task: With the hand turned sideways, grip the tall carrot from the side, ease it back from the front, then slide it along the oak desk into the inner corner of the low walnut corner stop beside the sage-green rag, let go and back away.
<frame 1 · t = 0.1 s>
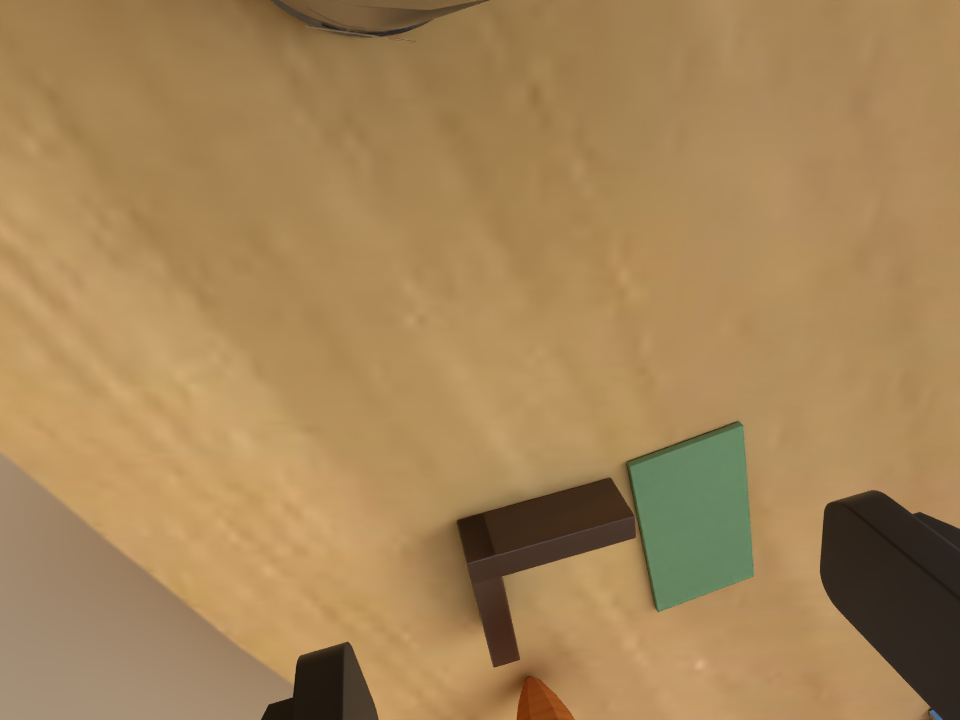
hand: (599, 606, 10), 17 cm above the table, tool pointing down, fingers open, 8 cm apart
corner stop: (547, 557, 34), on the table
carrot: (528, 674, 38), on the table
rag: (693, 521, 35), on the table
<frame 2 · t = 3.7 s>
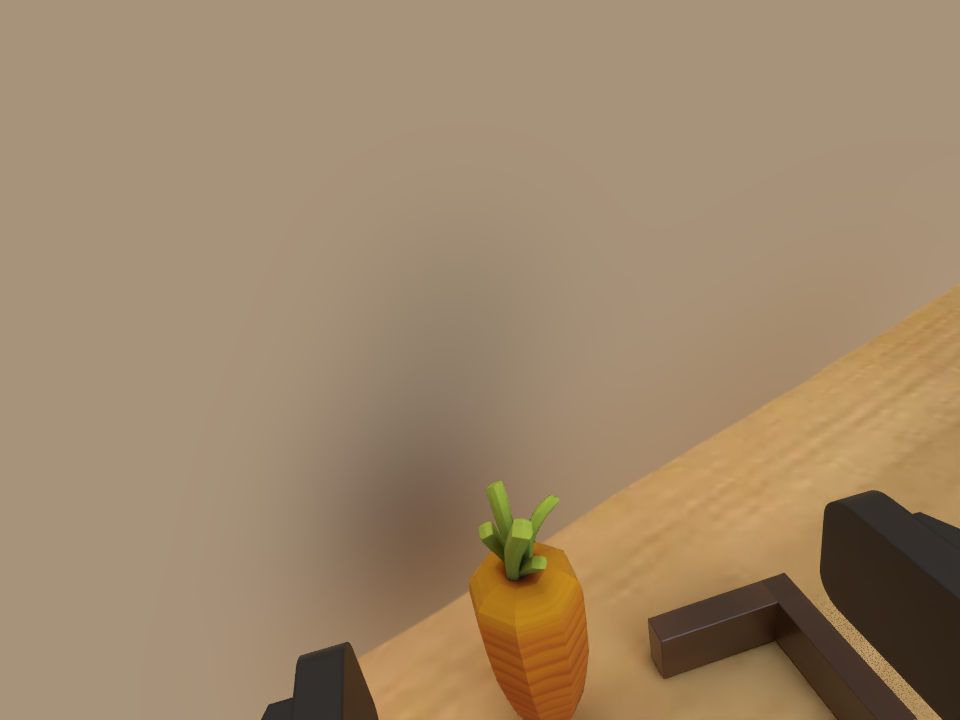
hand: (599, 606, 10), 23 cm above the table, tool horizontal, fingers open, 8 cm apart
corner stop: (760, 708, 30), on the table
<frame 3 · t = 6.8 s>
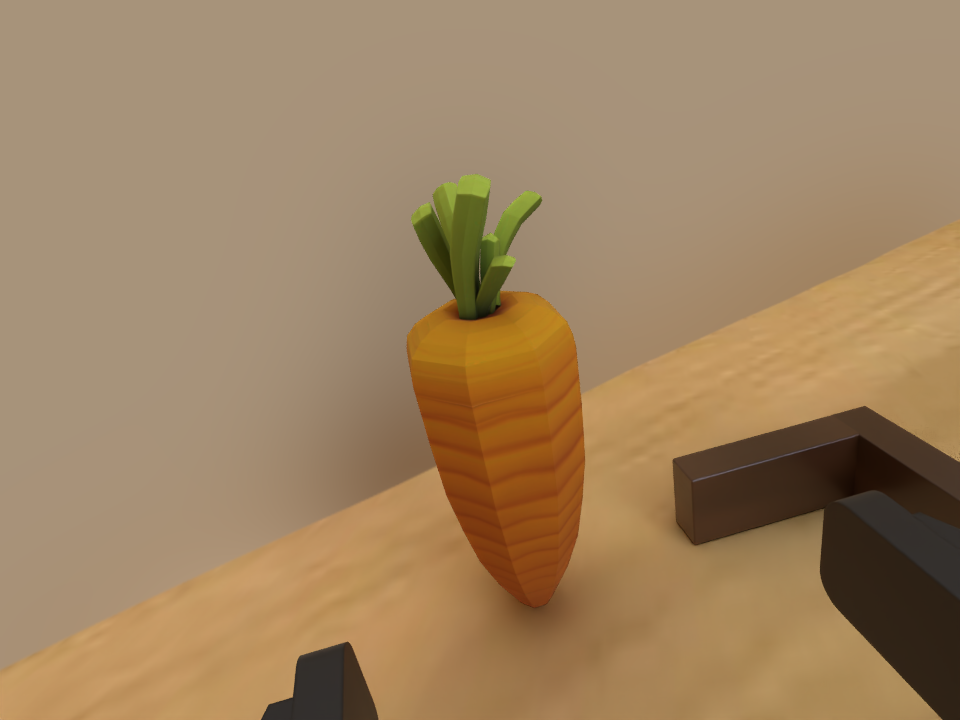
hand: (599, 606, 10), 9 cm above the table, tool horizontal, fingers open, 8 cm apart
corner stop: (838, 574, 20), on the table
carrot: (538, 607, 22), on the table
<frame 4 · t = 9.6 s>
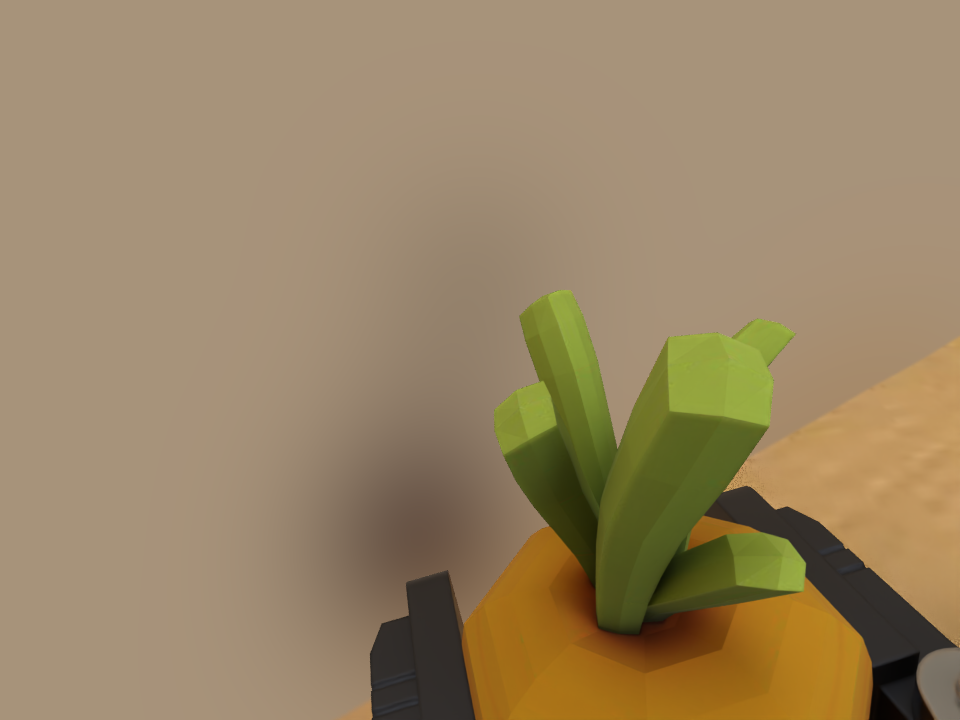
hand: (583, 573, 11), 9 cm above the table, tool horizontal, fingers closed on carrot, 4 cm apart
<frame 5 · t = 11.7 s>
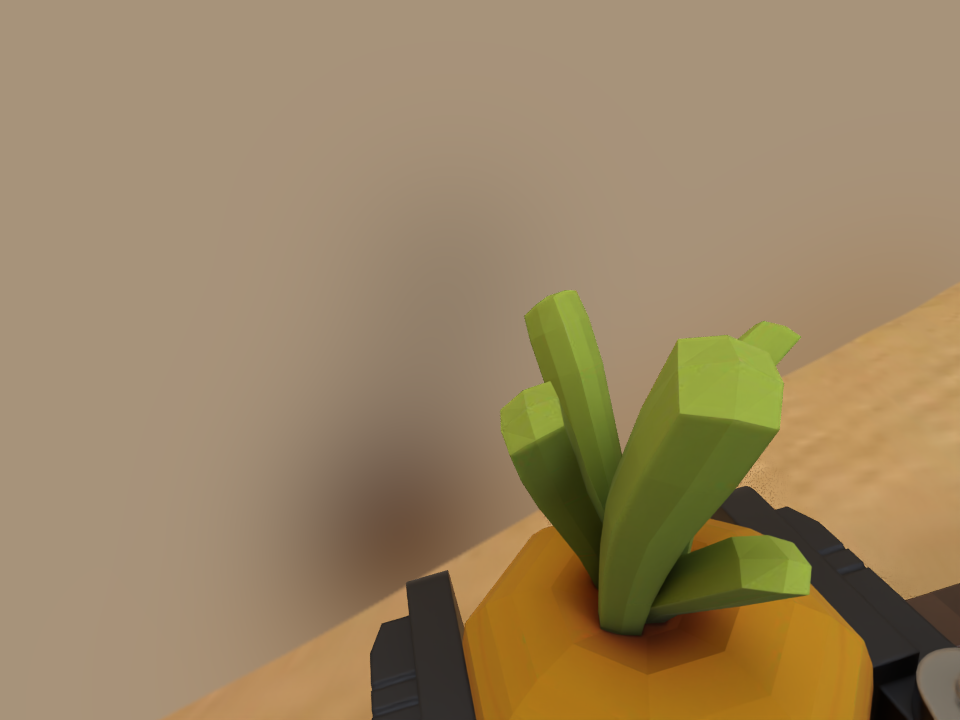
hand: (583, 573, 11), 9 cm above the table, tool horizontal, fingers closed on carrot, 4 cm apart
when the fingers open (9 cm above the table, at t = 13.9 s): carrot stays where it is, on the table.
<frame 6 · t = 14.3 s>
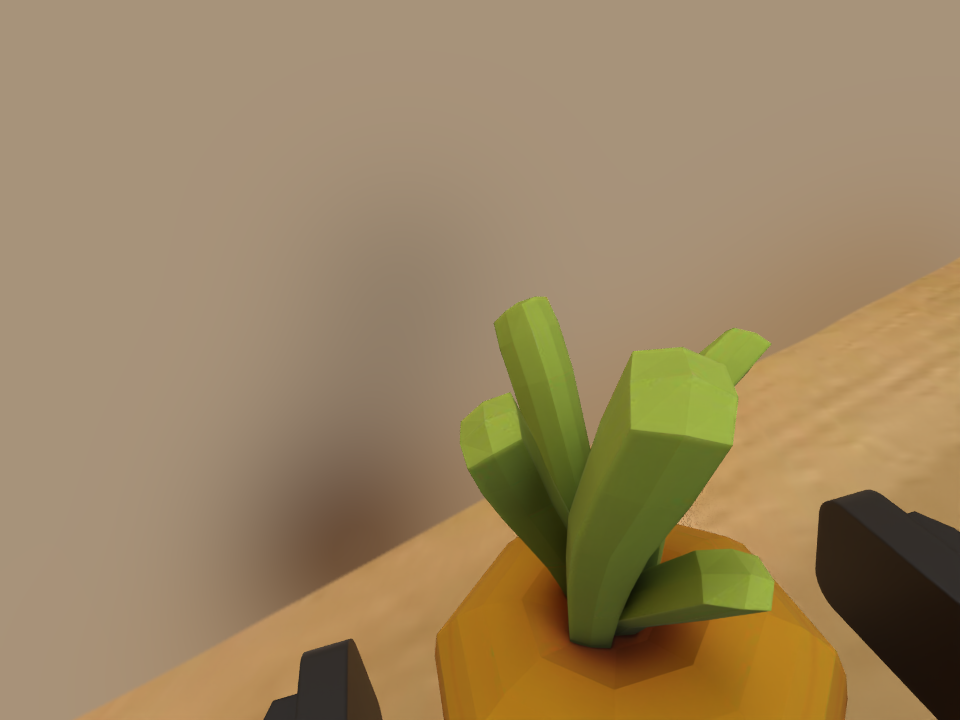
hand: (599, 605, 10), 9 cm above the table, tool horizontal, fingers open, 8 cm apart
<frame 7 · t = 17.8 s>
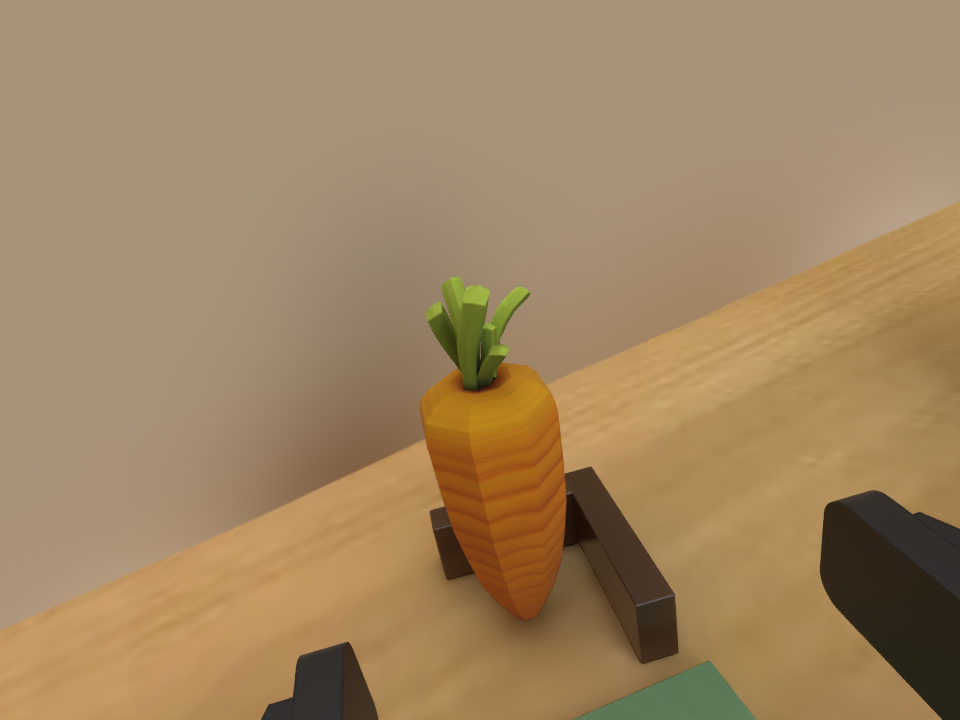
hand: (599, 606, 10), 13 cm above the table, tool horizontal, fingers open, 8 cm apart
corner stop: (537, 605, 26), on the table
carrot: (529, 619, 25), on the table
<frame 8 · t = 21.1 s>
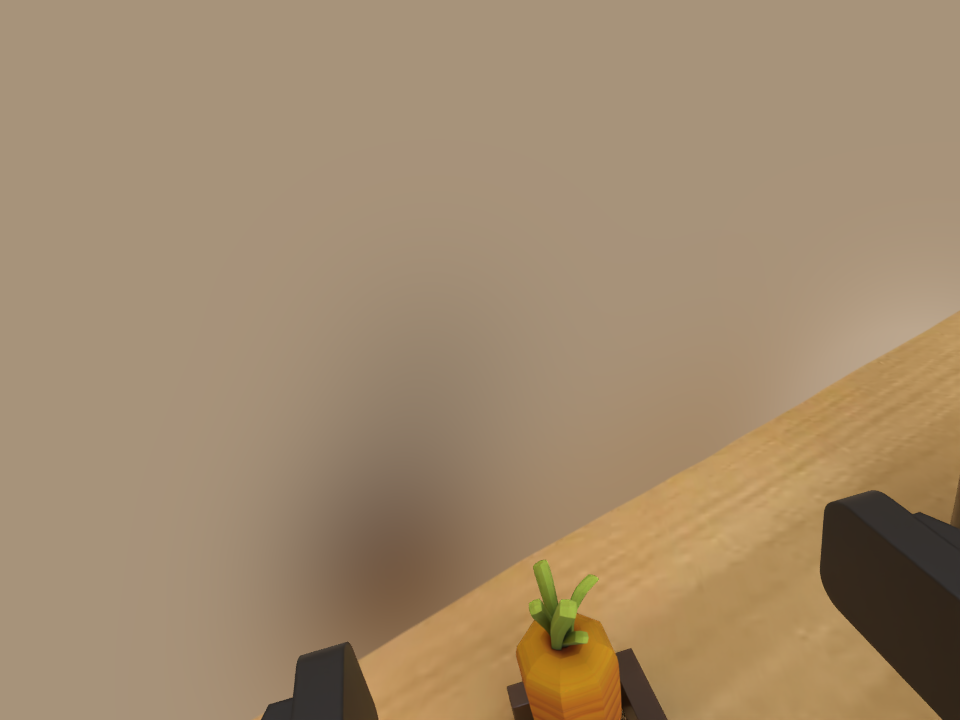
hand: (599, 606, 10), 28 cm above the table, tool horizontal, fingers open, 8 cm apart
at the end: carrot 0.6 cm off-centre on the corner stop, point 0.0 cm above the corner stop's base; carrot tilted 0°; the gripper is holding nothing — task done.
